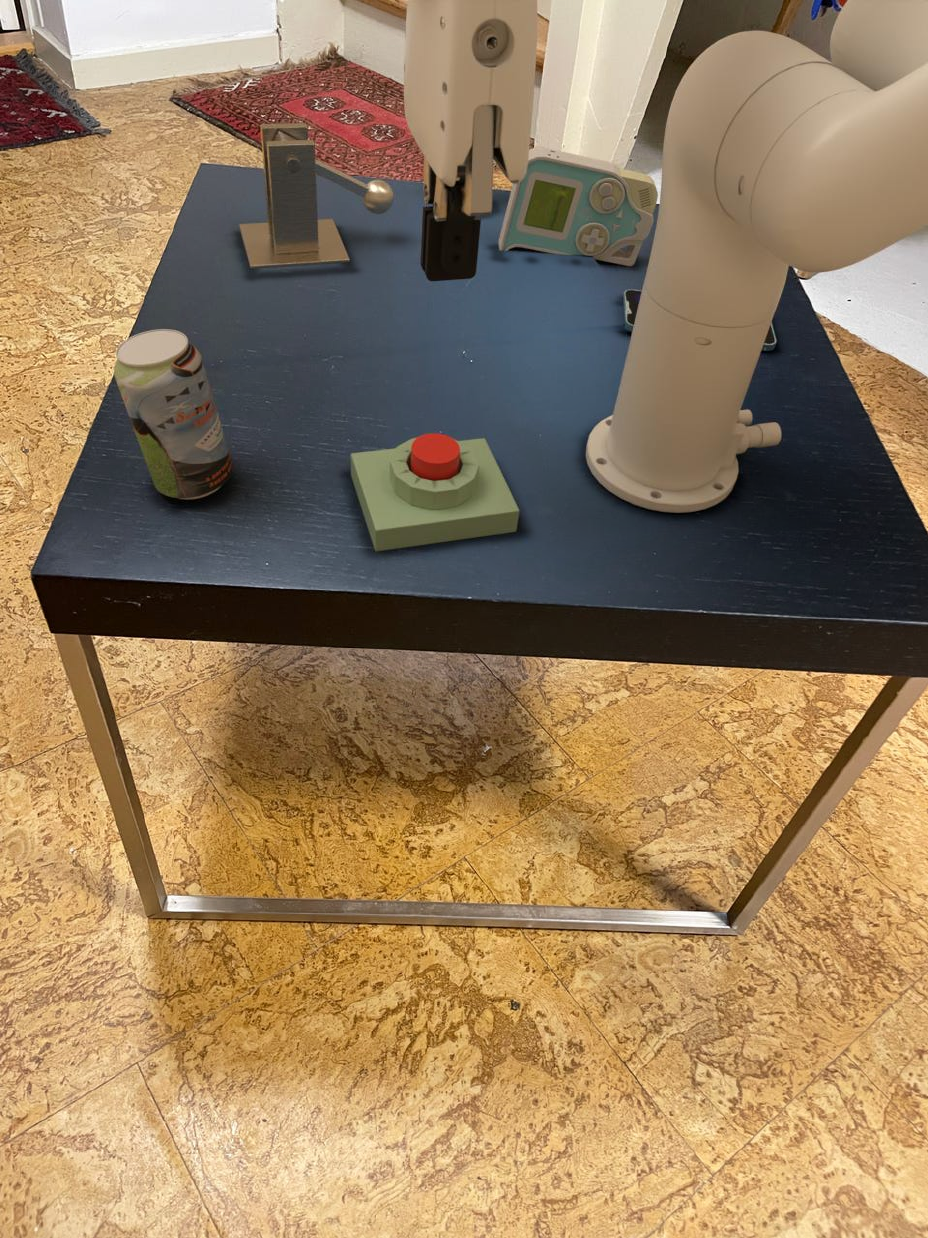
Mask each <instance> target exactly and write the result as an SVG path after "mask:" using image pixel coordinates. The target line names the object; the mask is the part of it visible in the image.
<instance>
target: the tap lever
mask: <svg viewBox="0 0 928 1238" xmlns="http://www.w3.org/2000/svg"><path fill="white" fill-rule="evenodd" d="M292 140H296V139H294V138H292V137H290V136H288V135H286V134H284V133H282V132H280V131H278V133H277V135H276V138H275V140H274V141H292ZM315 161H316V176H319V177H321V178H323V179H325V180H326V181H329V182H332V184H335V185H337V186H340V187H341V188H344V189H345V190H347V191H349V192H352V193H354V194H356V195H357V196H360V197H361V199H362V204H363V205H364V207H365V208H366V210H367V211H369V212H370V213H372V214H373V215H374V214H375V215H383V214H385V213H387V212H388V211H389V210H390V209H391V208H392V206H393V203H394V192H393V189H392V186H390V185H389V184H388V183H387V182H386V181H384V180H381V179H373V180H371V181H369V182H368V183H364V182H362V181H361V180H359V179H358V178H355V177H352V176H351V175H349V174H346V173H344V172H342V171H340V170H339V169H336V168H334V167H333V166H330V165H328V164H326V163H325V162H322V161H320V160H318V159H316V158H315Z"/></svg>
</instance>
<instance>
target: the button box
mask: <svg viewBox="0 0 928 1238" xmlns="http://www.w3.org/2000/svg"><path fill="white" fill-rule="evenodd" d="M418 437H419V436H417V437H412V438H409V439H408V440H407V441H405V442H403V443H401V444H399V445H397V446H396V447H395V448H388V449H387V448H386V449H377V450H370V451H369V450H368V451H361V452H352V453H350V476H351V480H352V483H353V486H354V489H355V492H356V495H357V499H358V502H359V504H360V507H361V511H362V515H363V517H364V520H365V523H366V527H367V529H368V532H369V537H370V539H371V542H372V545H373V548H374V551H375V552H382V551H390V550H397V549H404V548H410V547H418V546H424V545H425V546H426V545H432V544H438V543H444V542H445V543H446V542H452V541H459V540H467V539H473V538H481V537H488V536H489V537H490V536H495V535H503V534H509V533H515V532H517V530H518V523H519V518H520V509H519V507H518V504H517V502H516V500H515V498H514V496H513V494H512V492H511V490H510V488H509V485H508V484H507V481H506V479H505V476H503V473H502V471H501V469H500V467H499V464H498V462H497V460H496V459H495V456H494V454H493V452H492V450H491V448H490V446H489V444H488V442H487V440H486V438H485V437H481V438H474V439H465V440H457V439H454V440H455V441H456V442H457V443H458V445H459V447H460V456H459V467H458V472H457V473H456V475H455V476H454V477H452V478H451V479H447V480H439V481H432V480H427V479H422V478H419V477H418V476H416V475H415V474H414V473H413V471H412V469H411V446H412V443H413V441H414V440H415V439H416V438H418Z"/></svg>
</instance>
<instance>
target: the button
mask: <svg viewBox="0 0 928 1238" xmlns="http://www.w3.org/2000/svg"><path fill="white" fill-rule="evenodd" d="M417 437H418V438H417ZM417 437H415V438H416V439H415V440H414V441H413V443H412V446H411V469H412V471H413V473H414V474H415V475H416V476H418V477H419V478H422V479H427V480H432V481H439V480H447V479H451V478H452V477H454V476H455V475H456V473H457V472H458V467H459V456H460V447H459V445H458V443H457V442H456V441H455V440H456V439H454V438H453V437H451V436H449V435H447V434H443V433H437V432H436V433H435V432H432V433H431V432H430V433H425V434H422V435H420V436H417Z"/></svg>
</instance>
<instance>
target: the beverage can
mask: <svg viewBox="0 0 928 1238" xmlns="http://www.w3.org/2000/svg"><path fill="white" fill-rule="evenodd" d="M115 356H116V361H115V364H114V367H113V376H114V380H115V382H116V384H117V387H118V390H119V392H120V395H121V398H122V401H123V403H124V406H125V409H126V412H127V414H128V417H129V420H130V422H131V425H132V427H133V430H134V434H135V435H136V439H137V441H138V444H139V447H140V450H141V452H142V455H143V458H144V461H145V463H146V467H147V469H148V472H149V475H150V477H151V481H152V483H153V485H154V488H155V489H156V490H157V492H159V493H160V494H162V495H164V496H166V497H170V498H174V499H179V500H196V499H202V498H204V497H205V498H206V497H207V496H210V495H212V494H213V493H215V492H216V491H218V490H219V489H220V488H221V487H222V486H223V485H224V484H225V483H226V482H227V481H228V480H229V479H230V477H231V476H232V474H233V471H234V470H233V469H234V465H233V461H232V457H231V454H230V451H229V447H228V444H227V439H226V436H225V433H224V430H223V426H222V423H221V420H220V419H221V418H220V416H219V412H218V409H217V405H216V402H215V399H214V395H213V392H212V388H211V385H210V381H209V378H208V374H207V370H206V368H205V364H204V361H203V357H202V354H201V352H200V351H199V349H197V347H196V346H194V344H192V343H191V342H190V341H189V339H188V337H187V335H186V334H184V333H183V332H182V331H178V330H176V329H168V328H159V329H151V330H147V331H143V332H139V333H137V334H134V335H132V336H130V337H128V338H127V339H125V340H124V341H122V342H121V343H120V344H119V345H118V346H117V348H116V350H115Z"/></svg>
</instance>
